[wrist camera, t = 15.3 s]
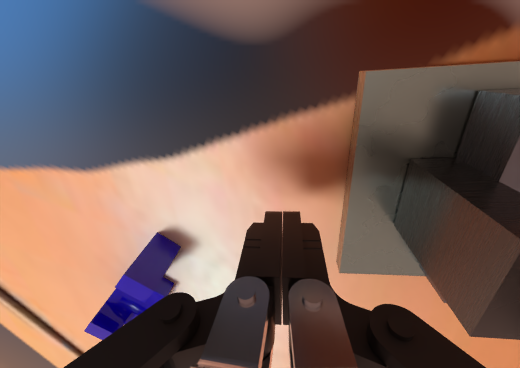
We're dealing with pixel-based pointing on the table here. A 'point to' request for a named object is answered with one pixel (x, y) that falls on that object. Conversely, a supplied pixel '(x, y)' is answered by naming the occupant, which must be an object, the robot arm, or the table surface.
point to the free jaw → (472, 219)
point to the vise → (403, 151)
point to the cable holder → (137, 288)
